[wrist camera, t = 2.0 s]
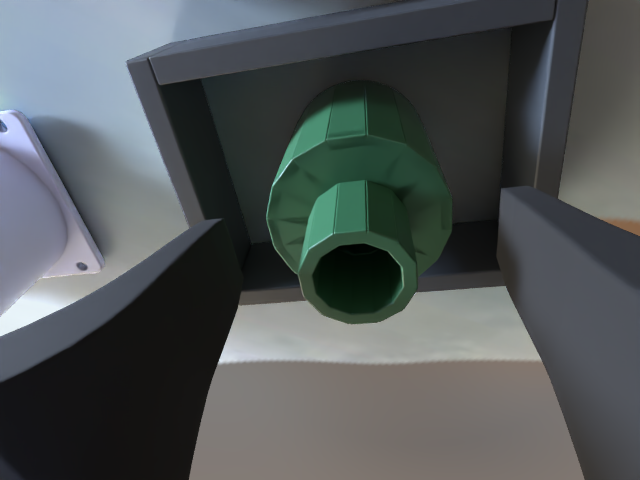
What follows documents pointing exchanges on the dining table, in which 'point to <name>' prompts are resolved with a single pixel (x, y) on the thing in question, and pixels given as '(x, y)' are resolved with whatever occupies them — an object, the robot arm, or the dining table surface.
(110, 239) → the dining table surface
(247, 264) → the crate
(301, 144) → the bottle
